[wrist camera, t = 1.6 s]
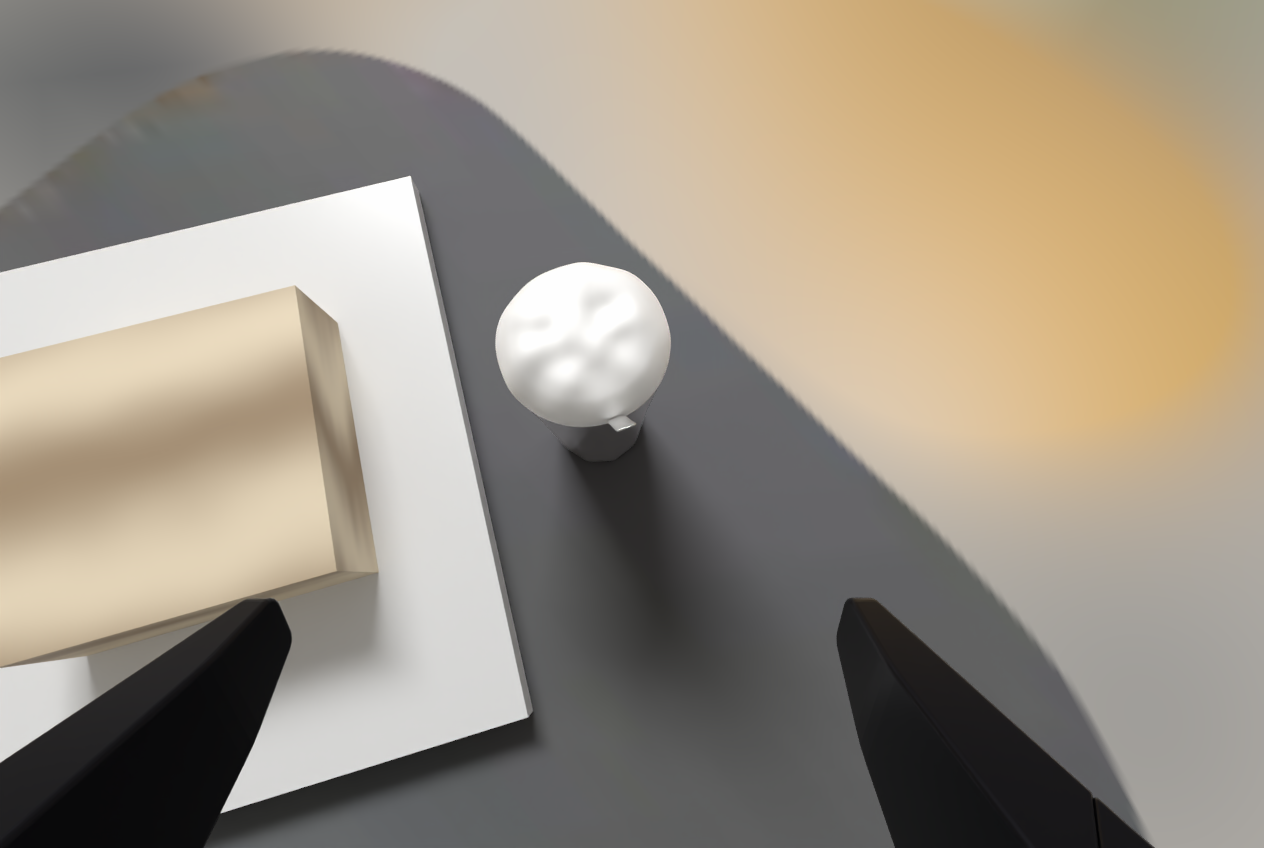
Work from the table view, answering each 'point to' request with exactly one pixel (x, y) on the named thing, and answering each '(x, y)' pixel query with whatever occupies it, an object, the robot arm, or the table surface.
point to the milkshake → (585, 355)
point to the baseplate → (393, 477)
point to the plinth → (175, 475)
